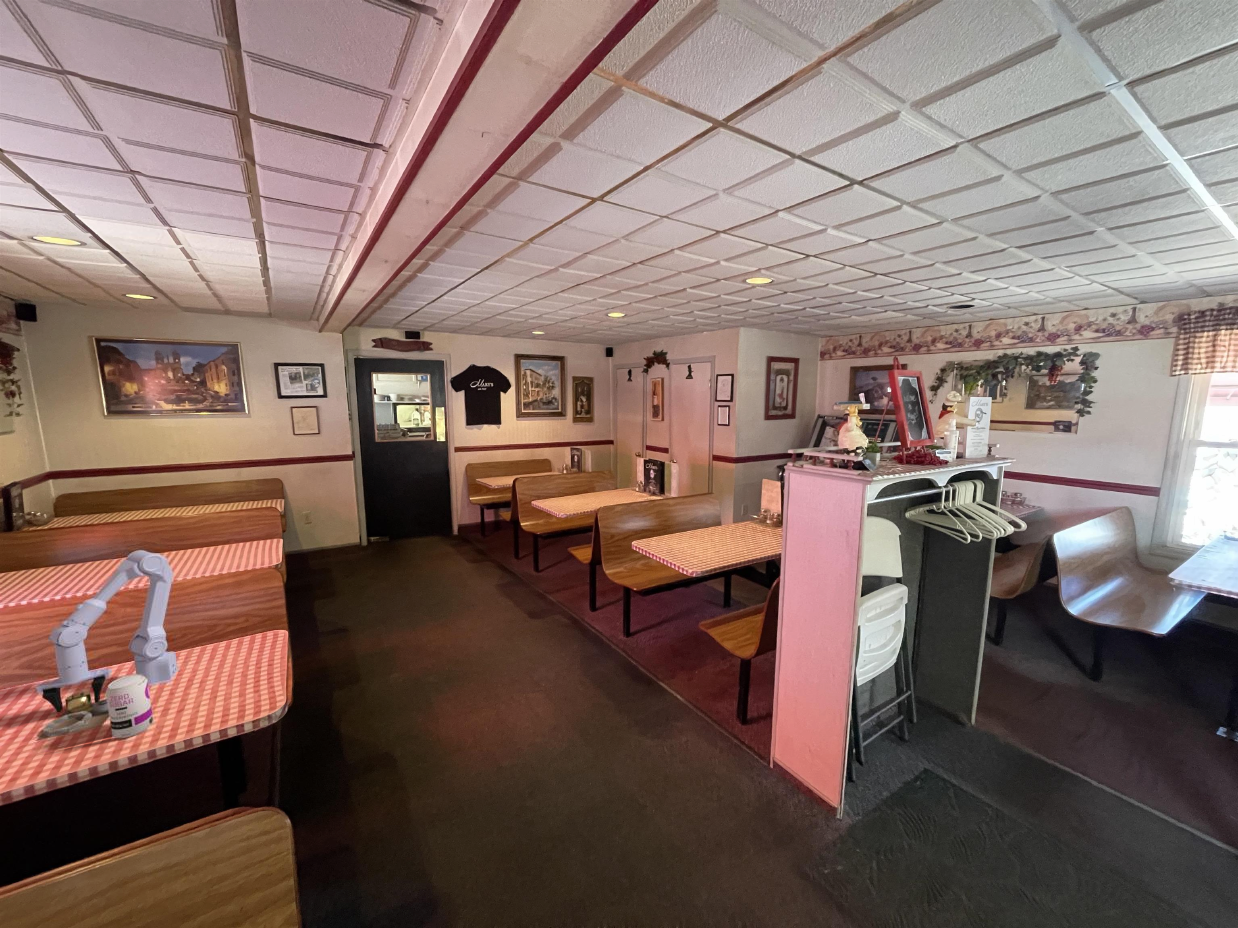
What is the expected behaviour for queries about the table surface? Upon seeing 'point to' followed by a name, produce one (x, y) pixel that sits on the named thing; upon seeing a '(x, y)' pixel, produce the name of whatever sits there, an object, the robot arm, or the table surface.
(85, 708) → the brass knob
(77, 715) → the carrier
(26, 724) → the table surface
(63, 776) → the table surface
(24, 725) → the table surface
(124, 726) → the supplement can
